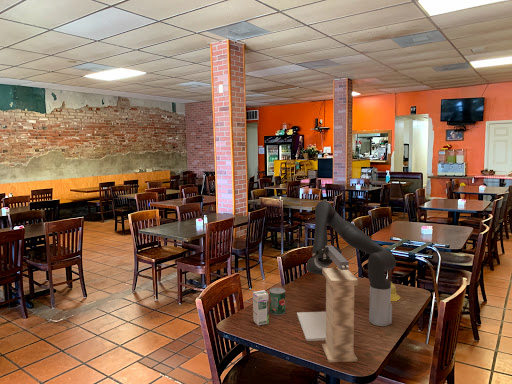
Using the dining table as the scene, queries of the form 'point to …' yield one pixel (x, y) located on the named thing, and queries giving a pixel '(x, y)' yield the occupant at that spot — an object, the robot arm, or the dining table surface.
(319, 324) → the off-white board
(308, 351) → the dining table surface
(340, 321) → the birch stand
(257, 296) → the syrup box
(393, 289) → the handbell
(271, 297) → the canned tomato
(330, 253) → the dark grey block
